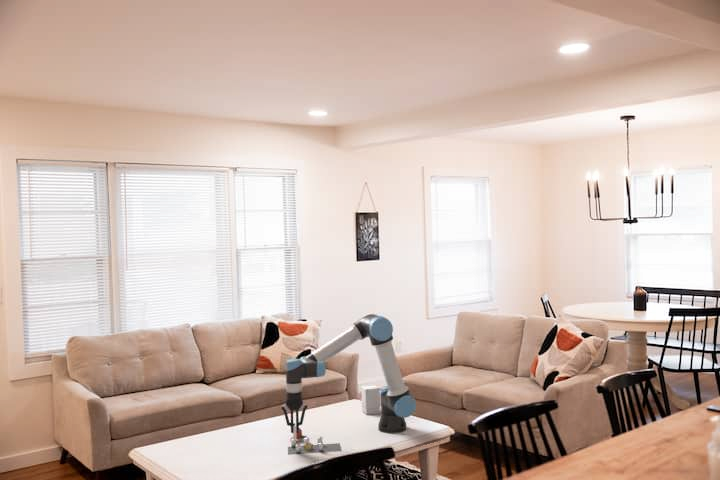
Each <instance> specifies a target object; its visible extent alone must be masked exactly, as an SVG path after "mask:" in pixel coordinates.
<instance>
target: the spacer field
mask: <svg viewBox="0 0 720 480" xmlns="http://www.w3.org/2000/svg"><path fill="white" fill-rule="evenodd" d="M290 439H291V438H290ZM303 439H304V442H303V443H304V444H305V443H310V437H303ZM290 443H291V446H290V447H292V448H296V454H295V455H301V454H300V453H301V446H302V445H301V443H297V440H294V439H291V441H290ZM323 444H324V442H323V436H318V437H317V445H318V448H319V452H321V453H324V452H323V451H324V449H323Z"/></svg>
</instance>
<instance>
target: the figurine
mask: <svg viewBox="0 0 720 480" xmlns="http://www.w3.org/2000/svg"><path fill="white" fill-rule="evenodd" d="M293 425H296V422H295V423H294V422H293ZM296 434H297V440H298V439H299V440H300V439H301V438H308V437H307V435H303V431H302V429H301V428H300V427H299V432H298V433H296ZM291 439H293V437H291V438H290V442H291Z"/></svg>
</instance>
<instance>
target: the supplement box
mask: <svg viewBox="0 0 720 480" xmlns="http://www.w3.org/2000/svg"><path fill="white" fill-rule="evenodd" d="M360 389H361V391H360V392H361V394H360V395H361V412H362V413H363V414H365V415H366V416H367V415H368V416H369V415H377V414H381V394H380V393H381V388H380V387H378V386H377V385H375V384H373V385H362V386H361V387H360Z"/></svg>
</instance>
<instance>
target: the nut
mask: <svg viewBox="0 0 720 480" xmlns="http://www.w3.org/2000/svg"><path fill="white" fill-rule="evenodd" d="M313 445H314V444H313V443H312V442H309V443H305V442H304V444H303V446H304V450H306V451H309V450H312V449H313Z"/></svg>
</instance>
